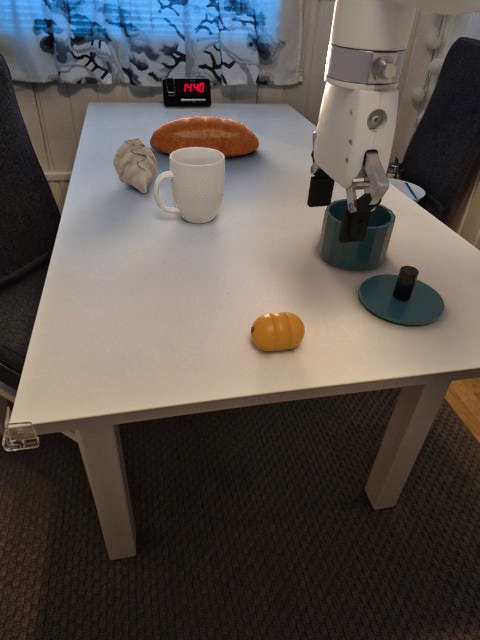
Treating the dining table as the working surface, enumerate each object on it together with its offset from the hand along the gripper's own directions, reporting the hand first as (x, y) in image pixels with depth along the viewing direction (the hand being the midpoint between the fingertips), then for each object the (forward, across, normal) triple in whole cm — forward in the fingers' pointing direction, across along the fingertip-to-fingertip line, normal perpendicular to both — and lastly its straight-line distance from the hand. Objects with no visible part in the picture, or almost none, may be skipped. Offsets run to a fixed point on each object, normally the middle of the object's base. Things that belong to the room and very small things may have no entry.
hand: (333, 222), depth 56 cm
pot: (+18, +20, -16) cm, 31 cm away
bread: (+19, +86, -1) cm, 88 cm away
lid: (+17, +4, -17) cm, 24 cm away
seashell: (+19, +62, +21) cm, 68 cm away
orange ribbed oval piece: (+18, -2, +6) cm, 19 cm away
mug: (+18, +41, +11) cm, 46 cm away
